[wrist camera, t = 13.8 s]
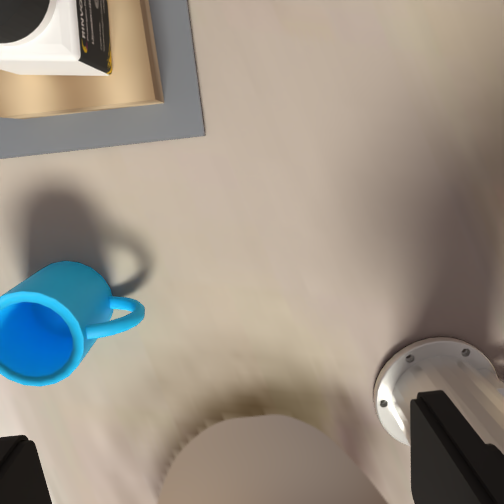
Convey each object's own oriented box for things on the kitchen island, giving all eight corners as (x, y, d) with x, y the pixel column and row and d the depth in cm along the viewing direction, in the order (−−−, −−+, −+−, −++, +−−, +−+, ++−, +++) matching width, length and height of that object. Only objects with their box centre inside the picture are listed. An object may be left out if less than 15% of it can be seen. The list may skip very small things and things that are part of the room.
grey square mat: (173, -107, 33) (171, -111, 32) (205, 135, 38) (204, 135, 37) (-60, -80, 33) (-65, -83, 33) (1, 158, 38) (-3, 159, 37)
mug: (36, 342, 43) (-11, 388, 35) (20, 262, 40) (-33, 293, 33) (157, 336, 43) (138, 381, 35) (149, 256, 41) (126, 286, 33)
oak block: (139, -61, 33) (125, -86, 29) (164, 103, 36) (155, 99, 33) (-15, -43, 33) (-49, -66, 29) (23, 119, 36) (-3, 117, 33)
